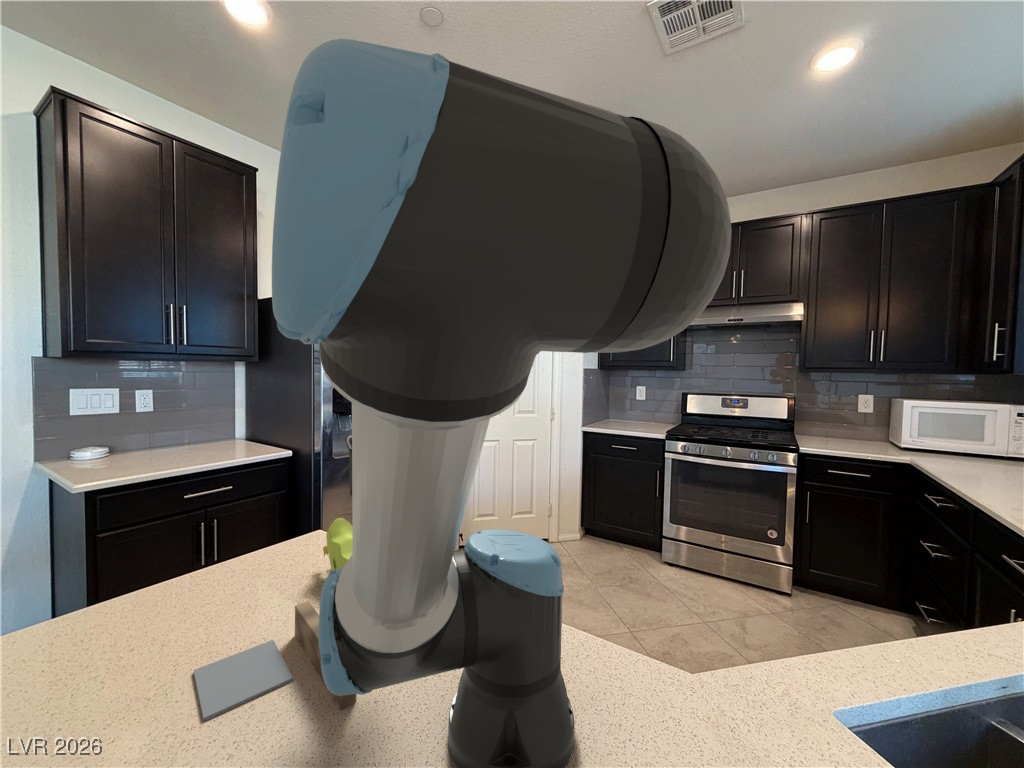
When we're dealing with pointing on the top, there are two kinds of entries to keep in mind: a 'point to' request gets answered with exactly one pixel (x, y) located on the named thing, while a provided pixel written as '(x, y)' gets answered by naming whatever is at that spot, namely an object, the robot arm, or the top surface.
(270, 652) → the grey mat
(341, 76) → the robot arm
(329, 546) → the toy
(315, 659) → the walnut wall
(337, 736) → the top surface
